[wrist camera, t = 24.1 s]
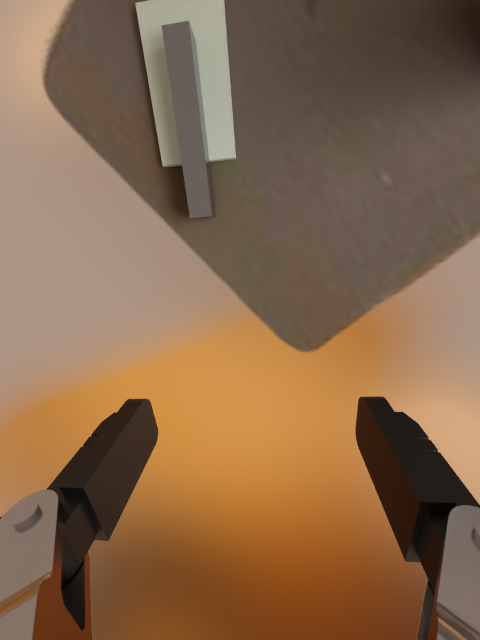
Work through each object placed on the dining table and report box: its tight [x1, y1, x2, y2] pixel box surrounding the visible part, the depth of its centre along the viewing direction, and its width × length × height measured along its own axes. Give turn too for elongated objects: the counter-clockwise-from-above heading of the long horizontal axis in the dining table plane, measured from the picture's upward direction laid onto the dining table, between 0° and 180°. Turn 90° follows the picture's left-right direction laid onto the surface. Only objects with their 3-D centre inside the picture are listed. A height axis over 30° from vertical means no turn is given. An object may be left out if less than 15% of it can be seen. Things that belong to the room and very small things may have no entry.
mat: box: [135, 0, 236, 168], centre depth 31 cm, size 10×16×1 cm, turn 5°
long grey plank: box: [162, 21, 216, 219], centre depth 31 cm, size 3×19×3 cm, turn 5°
